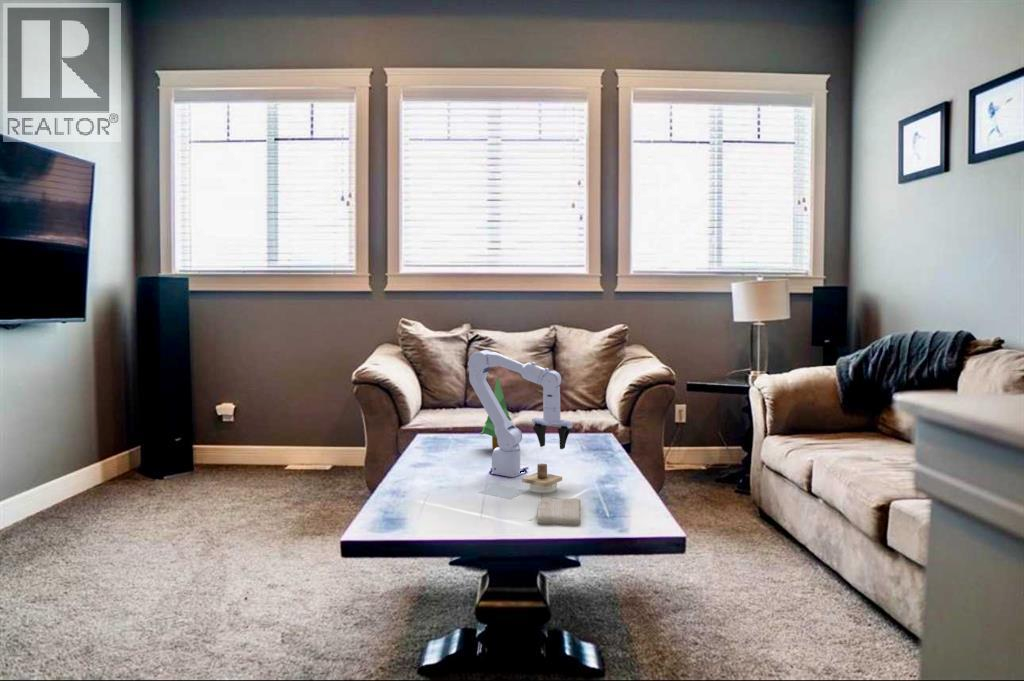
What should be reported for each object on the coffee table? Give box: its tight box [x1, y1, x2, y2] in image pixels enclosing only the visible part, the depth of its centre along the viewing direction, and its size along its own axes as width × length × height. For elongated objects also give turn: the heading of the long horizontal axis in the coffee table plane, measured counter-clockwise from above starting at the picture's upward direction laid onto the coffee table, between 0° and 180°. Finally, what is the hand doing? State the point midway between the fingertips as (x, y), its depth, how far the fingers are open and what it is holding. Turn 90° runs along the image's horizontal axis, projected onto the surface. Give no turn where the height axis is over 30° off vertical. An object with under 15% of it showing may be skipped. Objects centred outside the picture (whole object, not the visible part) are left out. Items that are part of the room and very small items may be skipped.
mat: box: [478, 484, 529, 500], centre depth 198 cm, size 12×10×1 cm
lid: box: [521, 463, 563, 487], centre depth 200 cm, size 9×9×5 cm
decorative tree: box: [479, 375, 512, 451], centre depth 255 cm, size 14×16×30 cm
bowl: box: [529, 482, 558, 494], centre depth 201 cm, size 8×8×3 cm
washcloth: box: [536, 496, 581, 526], centre depth 180 cm, size 12×18×3 cm, turn 175°
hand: (552, 447), depth 215 cm, fingers open, 7 cm apart
